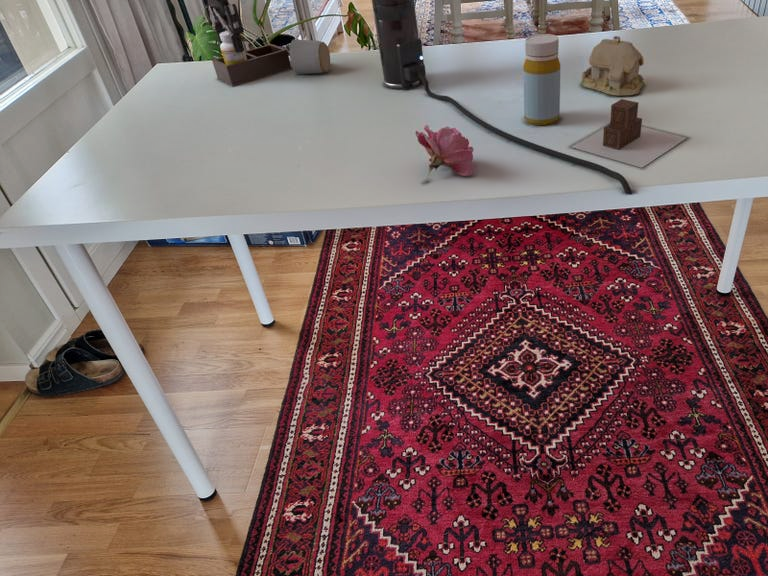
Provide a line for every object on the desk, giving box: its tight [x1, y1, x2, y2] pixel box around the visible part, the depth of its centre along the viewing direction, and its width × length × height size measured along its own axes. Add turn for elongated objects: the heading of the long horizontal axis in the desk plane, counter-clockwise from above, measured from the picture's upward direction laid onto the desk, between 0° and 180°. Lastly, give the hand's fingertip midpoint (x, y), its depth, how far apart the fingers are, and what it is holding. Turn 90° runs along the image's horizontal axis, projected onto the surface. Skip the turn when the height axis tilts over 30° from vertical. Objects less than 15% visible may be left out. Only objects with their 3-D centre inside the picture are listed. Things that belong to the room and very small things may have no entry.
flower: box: [414, 124, 474, 183], centre depth 111 cm, size 11×10×10 cm
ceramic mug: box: [289, 38, 331, 75], centre depth 159 cm, size 11×8×8 cm
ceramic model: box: [581, 35, 645, 97], centre depth 136 cm, size 14×11×10 cm
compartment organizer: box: [211, 43, 293, 87], centre depth 161 cm, size 9×16×5 cm, turn 132°
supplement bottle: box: [219, 30, 247, 65], centre depth 157 cm, size 5×5×10 cm
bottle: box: [522, 33, 561, 126], centre depth 123 cm, size 7×7×15 cm
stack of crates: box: [571, 98, 687, 169], centre depth 115 cm, size 15×15×7 cm
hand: (232, 48), depth 156 cm, fingers open, 8 cm apart
